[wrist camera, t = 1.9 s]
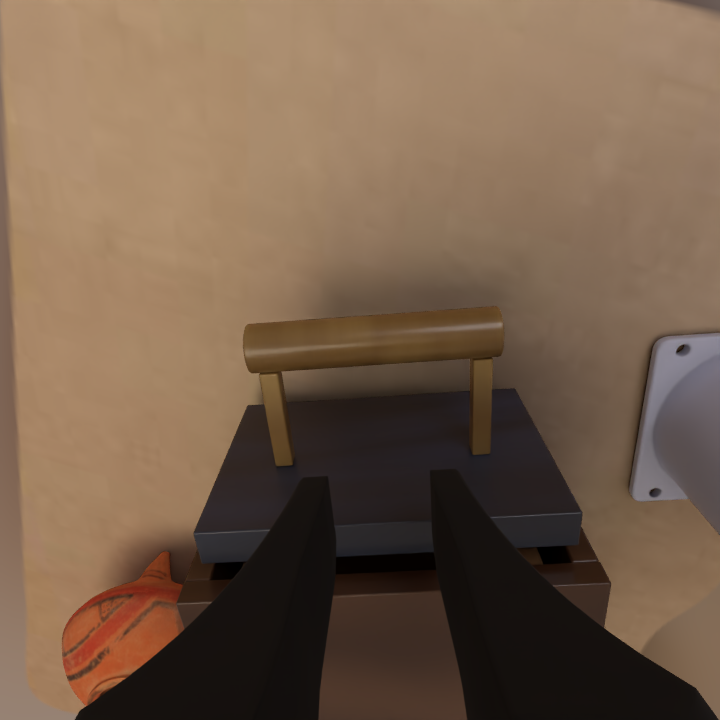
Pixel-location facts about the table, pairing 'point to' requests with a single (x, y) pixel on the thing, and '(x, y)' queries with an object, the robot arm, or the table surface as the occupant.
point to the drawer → (385, 445)
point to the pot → (121, 631)
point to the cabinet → (401, 633)
